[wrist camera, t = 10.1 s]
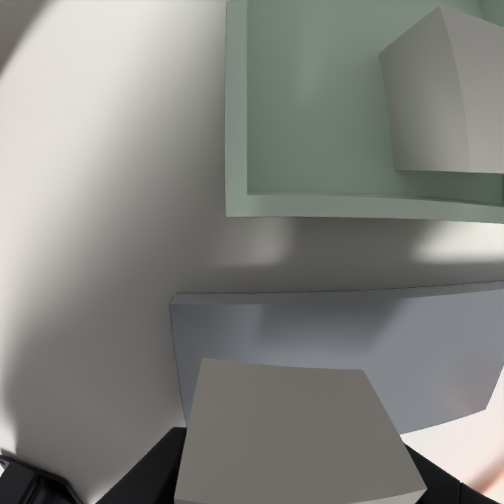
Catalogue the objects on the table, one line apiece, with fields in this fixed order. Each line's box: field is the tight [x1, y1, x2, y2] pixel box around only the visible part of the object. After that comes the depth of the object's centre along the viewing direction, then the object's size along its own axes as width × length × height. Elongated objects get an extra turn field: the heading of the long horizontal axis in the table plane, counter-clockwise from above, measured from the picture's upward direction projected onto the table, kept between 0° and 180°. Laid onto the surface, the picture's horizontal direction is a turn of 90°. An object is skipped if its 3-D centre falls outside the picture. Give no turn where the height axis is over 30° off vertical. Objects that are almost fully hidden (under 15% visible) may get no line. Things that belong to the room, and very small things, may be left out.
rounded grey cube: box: [378, 6, 504, 173], centre depth 7 cm, size 4×4×4 cm
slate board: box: [169, 281, 504, 435], centre depth 11 cm, size 7×15×1 cm, turn 91°
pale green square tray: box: [225, 0, 504, 224], centre depth 8 cm, size 11×11×3 cm
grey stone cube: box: [174, 358, 427, 504], centre depth 6 cm, size 4×4×4 cm
